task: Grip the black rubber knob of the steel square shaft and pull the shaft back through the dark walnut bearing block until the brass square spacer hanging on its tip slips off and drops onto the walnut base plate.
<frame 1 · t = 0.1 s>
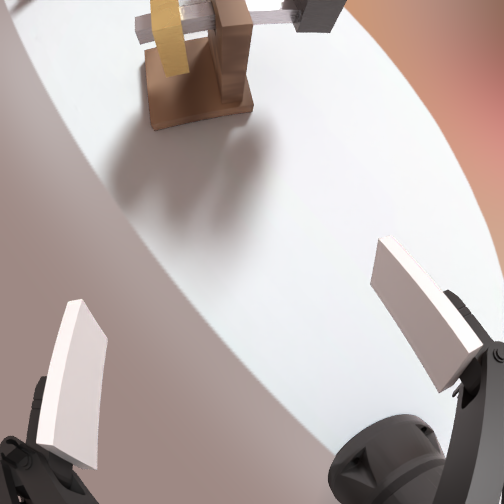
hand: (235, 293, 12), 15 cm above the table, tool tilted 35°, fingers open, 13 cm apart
spacer: (174, 50, 21), point 6 cm above the table, touching shaft
bearing frame: (205, 78, 28), on the table
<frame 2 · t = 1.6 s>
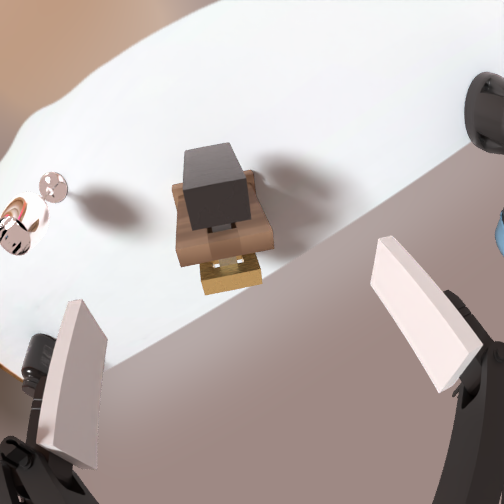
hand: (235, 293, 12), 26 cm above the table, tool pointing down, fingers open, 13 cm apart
shaft: (225, 245, 26), point 14 cm above the table, slide at 0.0 cm, touching spacer
supplement bottle: (46, 342, 48), on the table
wineglass: (53, 186, 32), on the table
spacer: (224, 246, 35), point 6 cm above the table, touching shaft
bearing frame: (216, 205, 39), on the table
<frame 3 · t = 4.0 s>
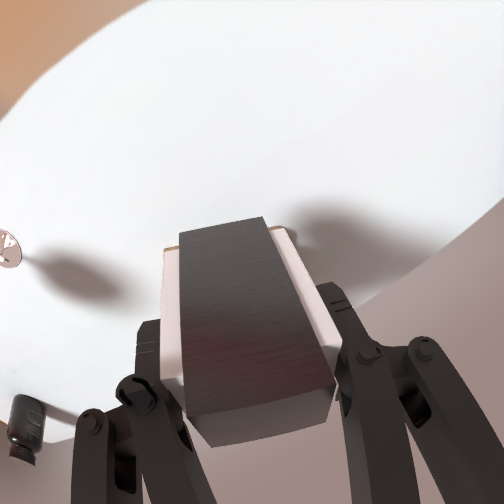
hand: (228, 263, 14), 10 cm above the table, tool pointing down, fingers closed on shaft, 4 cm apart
shaft: (255, 389, 15), point 13 cm above the table, slide at 0.0 cm, touching gripper, spacer
supplement bottle: (30, 402, 37), on the table
wineglass: (3, 247, 21), on the table
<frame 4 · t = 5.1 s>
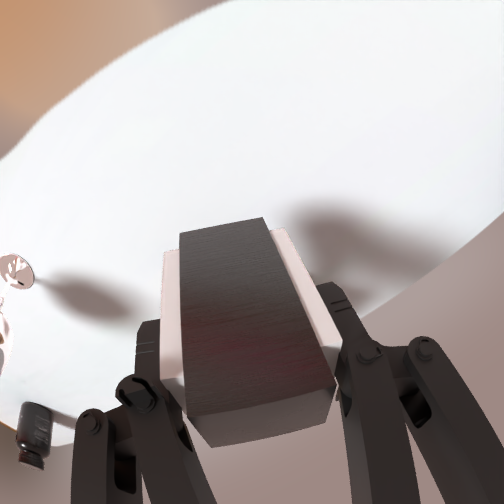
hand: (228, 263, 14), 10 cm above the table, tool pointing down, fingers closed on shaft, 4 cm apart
shaft: (255, 390, 15), point 14 cm above the table, slide at 2.9 cm, touching gripper, spacer
supplement bottle: (38, 409, 38), on the table
wineglass: (16, 270, 23), on the table
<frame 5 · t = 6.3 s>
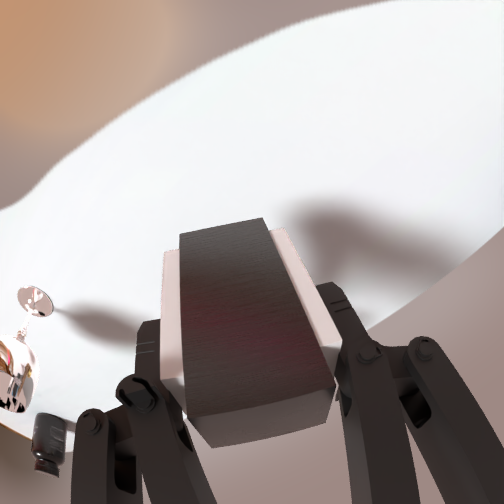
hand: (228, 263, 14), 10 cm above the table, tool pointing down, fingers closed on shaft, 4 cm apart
shaft: (255, 390, 15), point 13 cm above the table, slide at 6.9 cm, touching gripper
supplement bottle: (51, 419, 41), on the table
wineglass: (35, 300, 25), on the table
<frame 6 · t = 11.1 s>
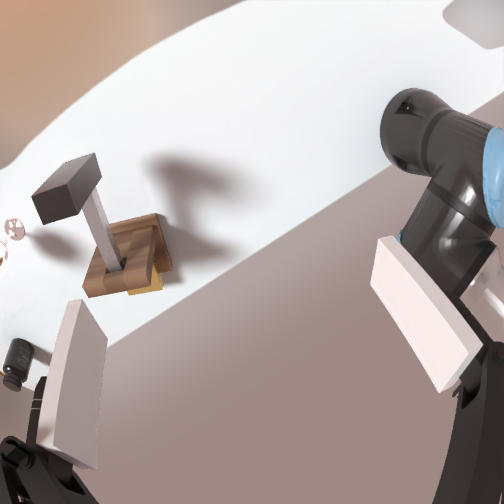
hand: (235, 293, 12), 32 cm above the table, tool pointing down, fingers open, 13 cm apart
shaft: (90, 236, 29), point 13 cm above the table, slide at 6.9 cm
supplement bottle: (23, 345, 54), on the table
wineglass: (14, 228, 39), on the table
spacer: (133, 258, 44), point 2 cm above the table, tilted 90°, touching bearing frame
bearing frame: (133, 241, 45), on the table
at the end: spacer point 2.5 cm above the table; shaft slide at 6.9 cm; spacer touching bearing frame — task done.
